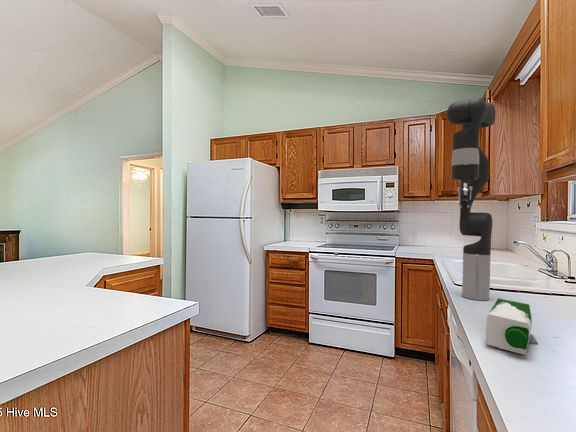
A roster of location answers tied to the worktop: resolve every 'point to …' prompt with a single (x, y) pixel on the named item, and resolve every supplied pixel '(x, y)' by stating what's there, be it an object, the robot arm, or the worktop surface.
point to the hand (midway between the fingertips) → (464, 219)
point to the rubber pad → (532, 340)
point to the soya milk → (509, 326)
